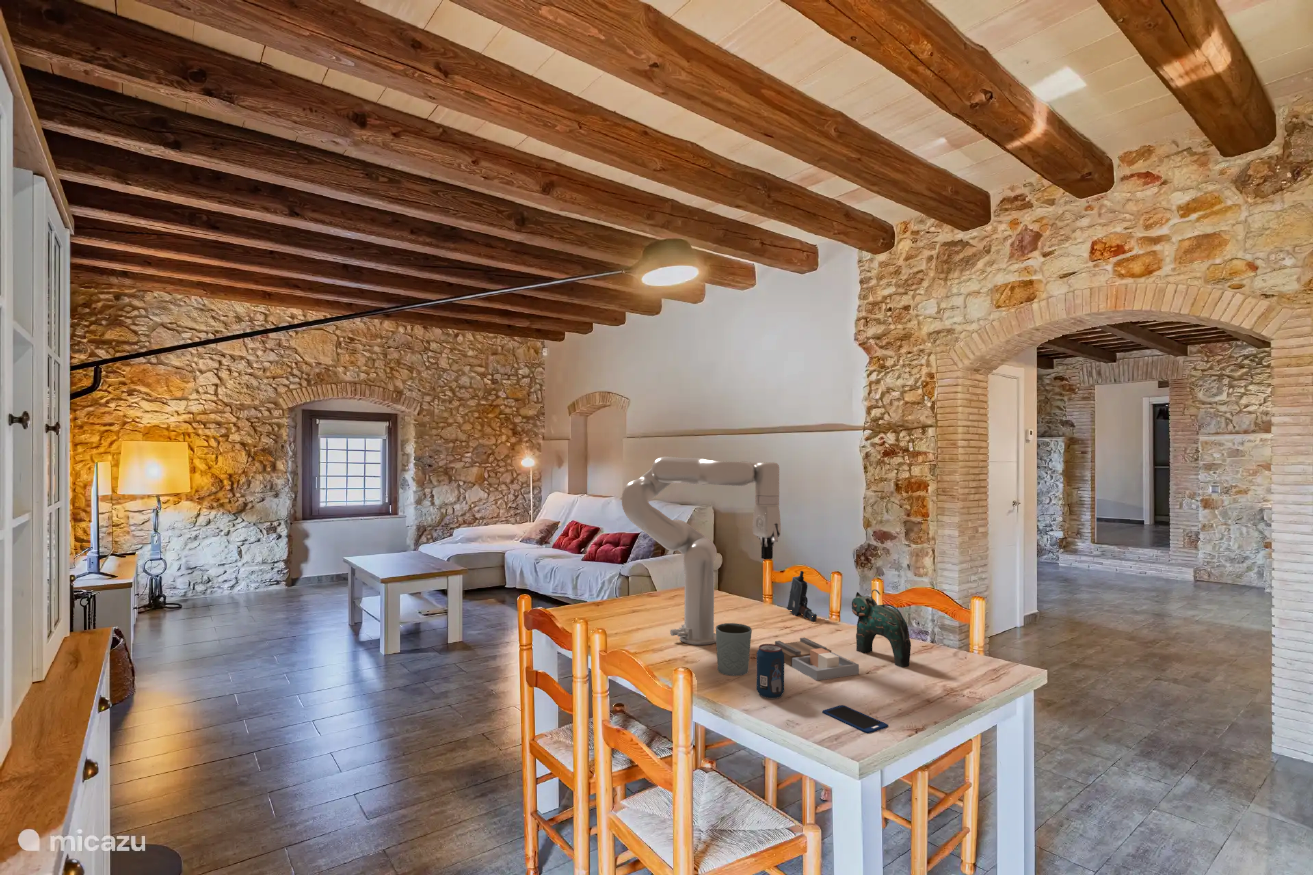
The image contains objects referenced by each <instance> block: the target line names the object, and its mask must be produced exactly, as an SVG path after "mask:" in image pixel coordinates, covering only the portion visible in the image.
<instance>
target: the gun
mask: <svg viewBox="0 0 1313 875" xmlns="http://www.w3.org/2000/svg"><path fill="white" fill-rule="evenodd" d="M807 593H808V583H807V581H805V577H804V571H803V570H800V571H799V576H792V579H791V585H790V591H789V597H788V602H787V606H786V609H787V611H789V610H792V611H789V612H790V613H792V615H793V616H795V617H796V616H797V617H798V616H803V618H804V619H809V620H810V622H812V623H814V622H816V621H817V618H818V616H817V615H818V614H816V613H814V612H812V611H813V610H812V609H811V608H809V607H808V596H807ZM812 616H813V617H812Z"/></svg>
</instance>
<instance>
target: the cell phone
mask: <svg viewBox="0 0 1313 875" xmlns="http://www.w3.org/2000/svg"><path fill="white" fill-rule="evenodd" d="M821 713H822V714H824V715H825V716H828V717H830V718H832V719H834V720H836V721H839V722H840V723H843V724H845V725H847V726H849V727H851V728H853V729H856V730H857V731H861V732H863V733H864V734H872V733H874V732H878V731H880V730H884V729H887V728H888V727H889V724H888V723H886V722H884V721H881V720H879V719H877V718H874V717H873V716H870V715H868V714H865V713H863V712H860V711H858V710H855V709H853V708H851V707H849V706H846V705H844V704H840V705H839V704H838V705H837V706H833V707H830V708H827V709H823V710H821Z"/></svg>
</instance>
